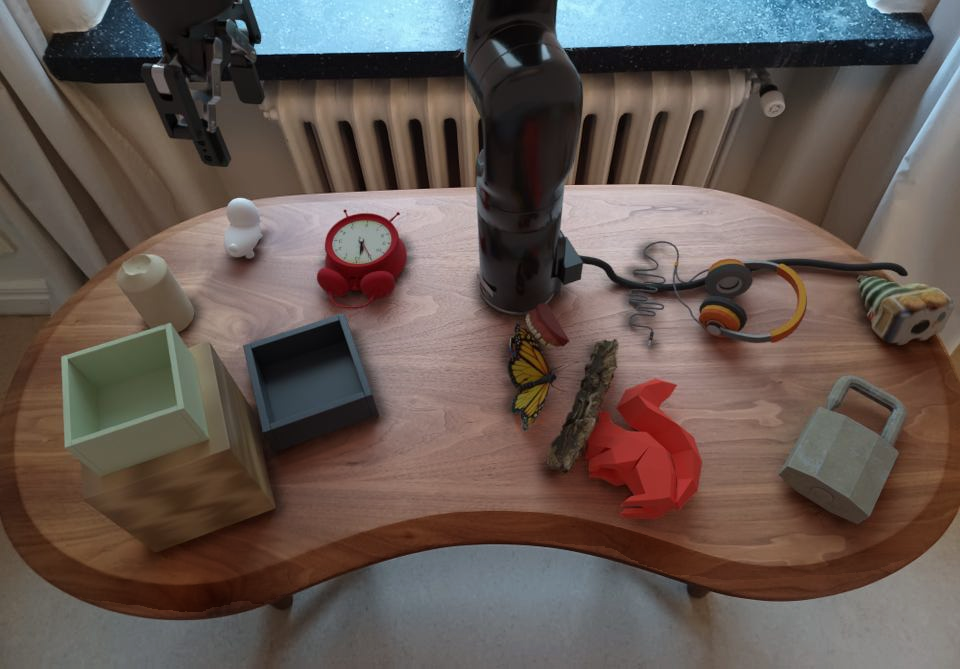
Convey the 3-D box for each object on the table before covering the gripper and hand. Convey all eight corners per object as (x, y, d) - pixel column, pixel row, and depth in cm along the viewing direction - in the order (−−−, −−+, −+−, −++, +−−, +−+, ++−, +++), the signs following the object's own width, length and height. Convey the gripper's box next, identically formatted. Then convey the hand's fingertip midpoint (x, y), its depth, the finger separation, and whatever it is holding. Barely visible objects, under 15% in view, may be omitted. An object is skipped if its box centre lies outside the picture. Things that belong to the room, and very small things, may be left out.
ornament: (941, 341, 78) (883, 288, 85) (969, 301, 74) (906, 248, 81) (882, 351, 76) (828, 296, 83) (908, 310, 72) (849, 256, 79)
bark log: (592, 349, 79) (590, 310, 74) (633, 359, 77) (634, 319, 72) (539, 481, 69) (532, 446, 64) (584, 495, 67) (581, 460, 62)
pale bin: (195, 358, 62) (170, 322, 58) (209, 439, 57) (184, 408, 53) (94, 390, 61) (60, 356, 56) (100, 477, 56) (64, 448, 51)
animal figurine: (686, 389, 74) (690, 363, 70) (707, 519, 65) (713, 497, 61) (580, 394, 76) (578, 368, 72) (586, 521, 67) (584, 499, 63)
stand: (254, 411, 75) (209, 340, 63) (276, 508, 68) (230, 448, 57) (143, 449, 73) (76, 382, 61) (155, 552, 66) (82, 500, 55)
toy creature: (274, 223, 92) (260, 189, 86) (255, 268, 87) (240, 234, 82) (241, 221, 92) (226, 186, 87) (221, 265, 87) (204, 232, 82)
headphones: (639, 225, 86) (814, 233, 78) (642, 254, 90) (808, 264, 82) (611, 328, 77) (804, 349, 69) (615, 355, 81) (798, 378, 73)
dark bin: (351, 335, 80) (344, 312, 77) (379, 415, 74) (372, 394, 70) (255, 367, 78) (242, 345, 75) (275, 452, 72) (262, 432, 68)
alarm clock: (410, 206, 87) (388, 276, 76) (414, 246, 92) (393, 318, 81) (332, 203, 88) (298, 272, 77) (339, 243, 92) (308, 314, 81)
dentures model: (543, 335, 70) (513, 381, 75) (575, 334, 72) (544, 379, 78) (523, 296, 73) (496, 343, 79) (555, 296, 75) (526, 342, 81)
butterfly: (591, 427, 68) (559, 421, 65) (528, 445, 74) (496, 440, 71) (578, 320, 73) (548, 309, 70) (519, 345, 79) (489, 335, 75)
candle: (182, 339, 81) (146, 286, 73) (140, 332, 82) (100, 279, 73) (202, 303, 84) (169, 249, 76) (161, 297, 85) (125, 242, 77)
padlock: (774, 478, 68) (831, 377, 75) (853, 527, 66) (904, 417, 72) (790, 463, 65) (847, 358, 72) (873, 514, 62) (925, 400, 69)
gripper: (171, -7, 41) (250, 191, 55) (250, -108, 49) (302, 85, 63) (58, -14, 42) (163, 183, 55) (154, -113, 50) (225, 80, 64)
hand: (237, 131), depth 59 cm, fingers open, 8 cm apart
